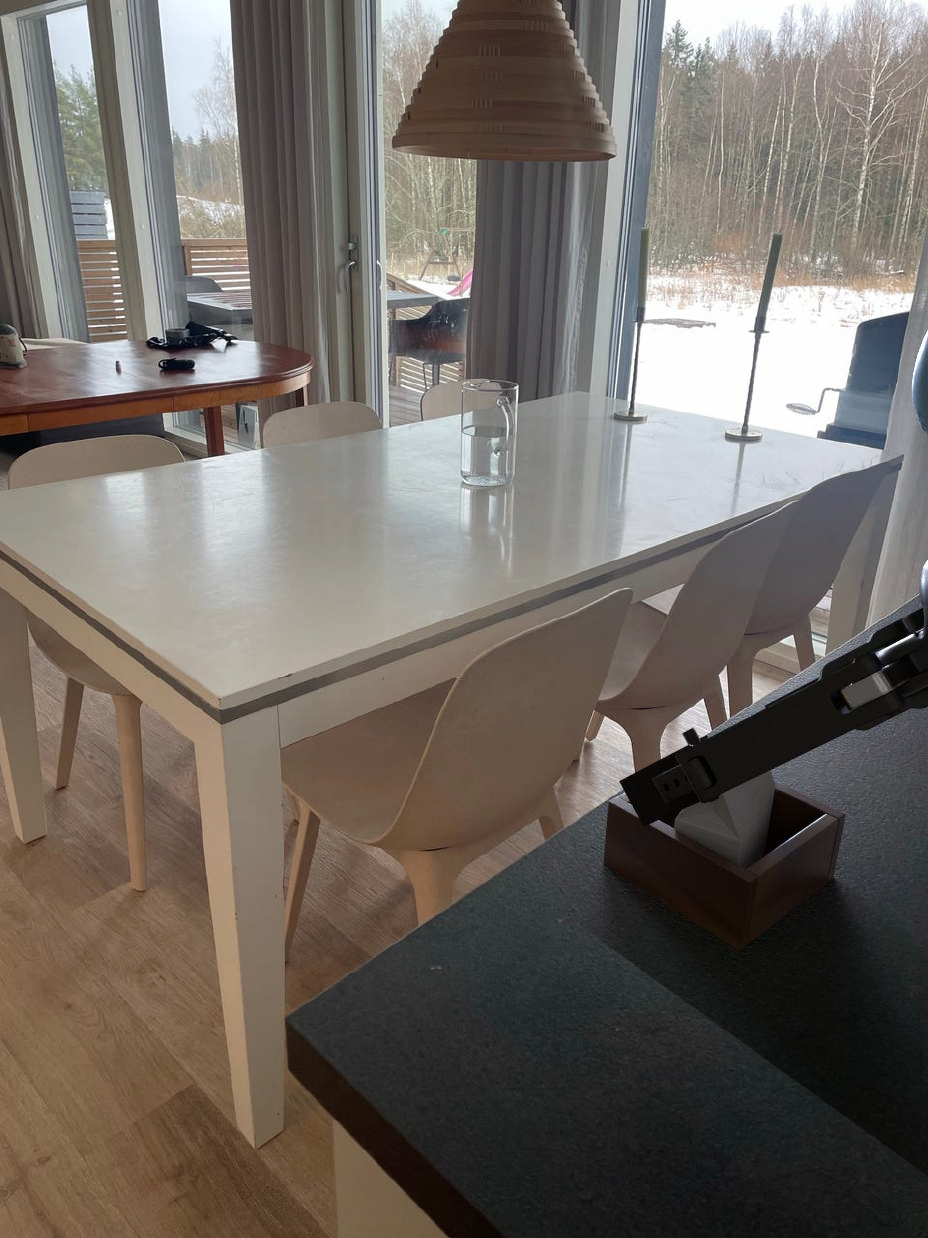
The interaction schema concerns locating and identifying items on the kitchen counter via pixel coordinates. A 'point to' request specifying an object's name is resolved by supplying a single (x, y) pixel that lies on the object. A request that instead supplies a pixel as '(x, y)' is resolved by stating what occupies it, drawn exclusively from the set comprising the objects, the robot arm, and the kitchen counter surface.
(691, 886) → the holder
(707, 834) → the white faceted block
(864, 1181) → the kitchen counter surface
